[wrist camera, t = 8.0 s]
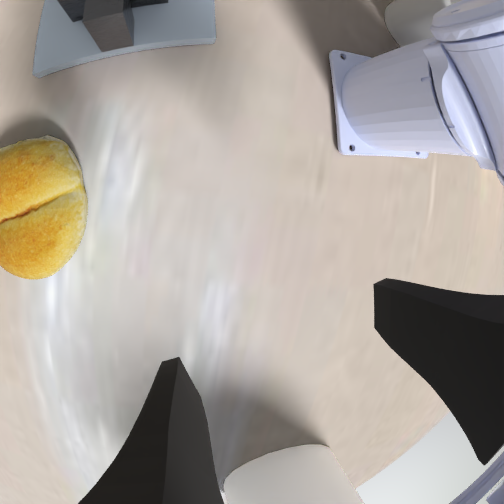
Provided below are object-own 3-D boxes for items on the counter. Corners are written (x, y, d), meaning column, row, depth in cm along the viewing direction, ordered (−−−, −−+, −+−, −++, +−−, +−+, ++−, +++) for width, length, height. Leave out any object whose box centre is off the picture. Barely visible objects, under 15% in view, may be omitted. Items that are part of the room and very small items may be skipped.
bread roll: (12, 276, 15) (-14, 299, 12) (-10, 157, 12) (-43, 159, 9) (104, 260, 17) (88, 285, 13) (84, 124, 14) (61, 116, 10)
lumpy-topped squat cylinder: (371, 10, 16) (441, -24, 8) (427, -13, 15) (480, -32, 7) (434, 105, 20) (509, 102, 12) (473, 60, 19) (529, 56, 11)
